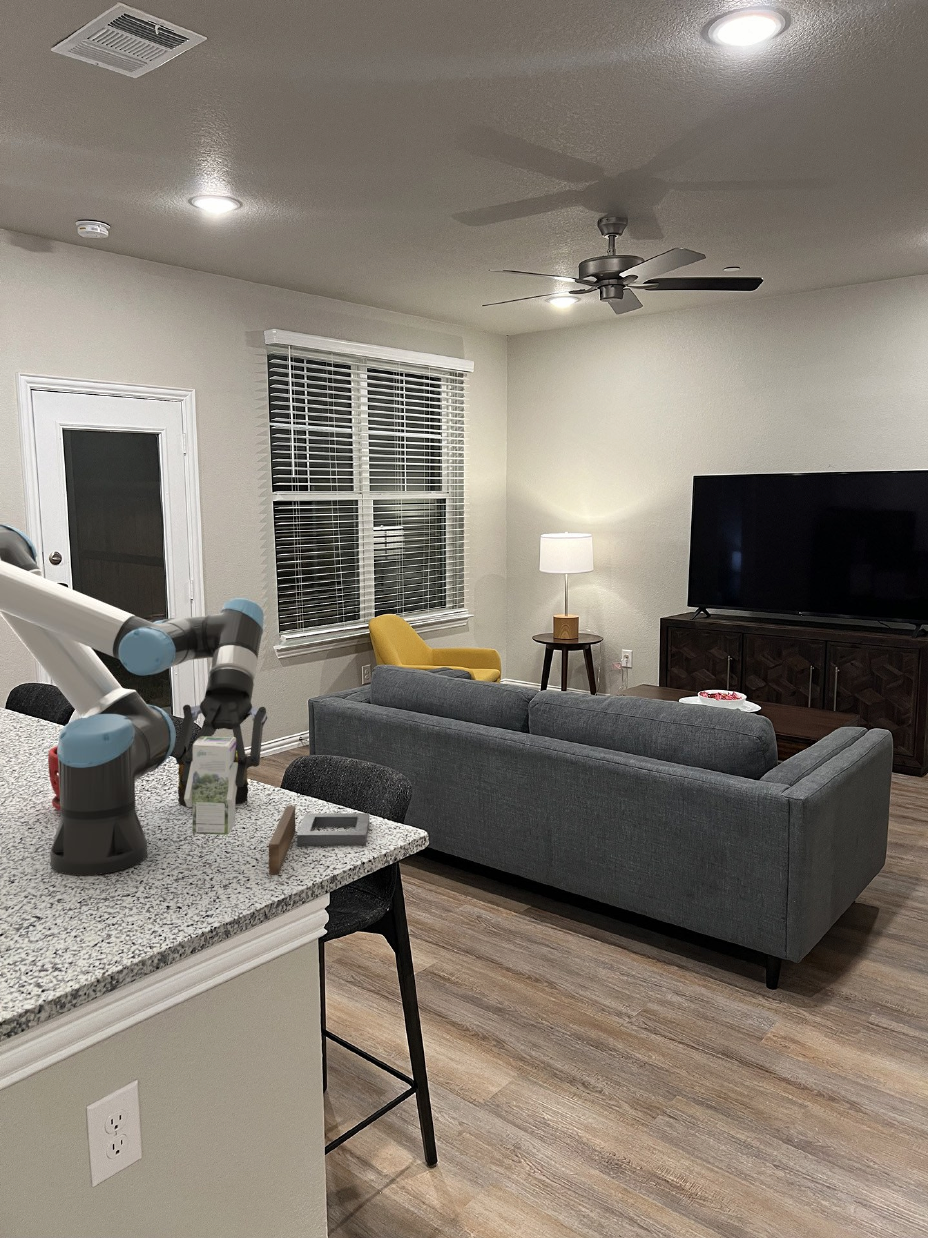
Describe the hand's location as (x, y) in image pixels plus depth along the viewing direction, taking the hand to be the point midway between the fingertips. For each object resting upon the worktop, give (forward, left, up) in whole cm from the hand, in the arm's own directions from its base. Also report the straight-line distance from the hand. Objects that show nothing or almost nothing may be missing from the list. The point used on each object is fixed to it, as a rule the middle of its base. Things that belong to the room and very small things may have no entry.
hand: (209, 803), depth 144 cm
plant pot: (-33, +41, -14) cm, 54 cm away
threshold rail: (+9, +16, -14) cm, 23 cm away
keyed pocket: (+17, +25, -14) cm, 33 cm away
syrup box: (0, +4, -6) cm, 7 cm away
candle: (-9, +44, -14) cm, 47 cm away
